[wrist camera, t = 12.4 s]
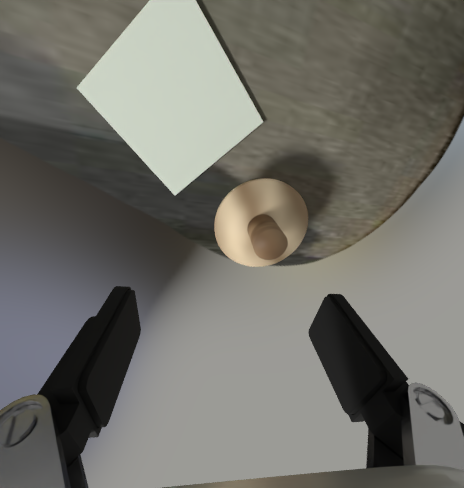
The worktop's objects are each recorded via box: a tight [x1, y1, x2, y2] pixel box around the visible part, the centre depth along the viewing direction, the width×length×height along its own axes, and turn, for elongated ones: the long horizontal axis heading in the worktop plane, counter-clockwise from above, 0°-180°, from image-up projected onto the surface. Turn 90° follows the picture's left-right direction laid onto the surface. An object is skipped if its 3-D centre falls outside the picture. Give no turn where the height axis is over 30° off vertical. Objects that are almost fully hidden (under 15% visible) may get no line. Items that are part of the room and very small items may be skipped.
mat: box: [77, 0, 263, 195], centre depth 25 cm, size 16×16×1 cm
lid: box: [215, 178, 308, 267], centre depth 25 cm, size 13×13×6 cm
